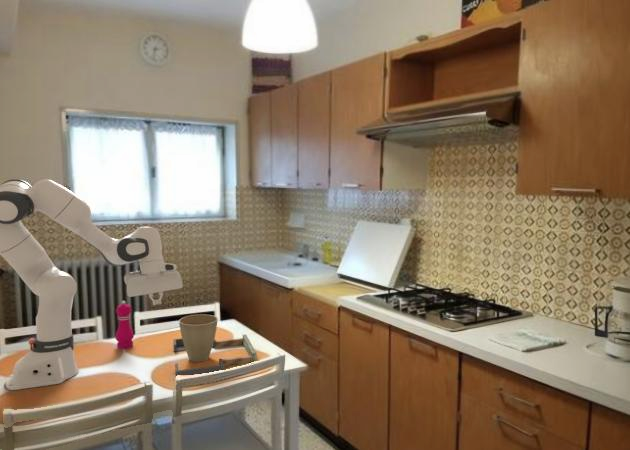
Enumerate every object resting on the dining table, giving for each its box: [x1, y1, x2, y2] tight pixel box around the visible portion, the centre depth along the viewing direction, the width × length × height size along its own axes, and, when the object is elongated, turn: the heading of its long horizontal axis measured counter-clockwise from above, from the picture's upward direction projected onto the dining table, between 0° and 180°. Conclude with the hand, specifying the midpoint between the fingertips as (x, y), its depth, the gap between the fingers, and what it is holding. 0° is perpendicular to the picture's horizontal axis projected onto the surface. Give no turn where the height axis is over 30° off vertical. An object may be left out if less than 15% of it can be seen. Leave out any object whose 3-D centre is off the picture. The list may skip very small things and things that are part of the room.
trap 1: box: [173, 337, 217, 353], centre depth 196 cm, size 17×8×3 cm, turn 108°
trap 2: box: [174, 358, 225, 377], centre depth 169 cm, size 17×8×3 cm, turn 108°
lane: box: [215, 334, 257, 368], centre depth 187 cm, size 13×24×4 cm, turn 18°
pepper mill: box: [115, 300, 135, 350], centre depth 196 cm, size 7×7×20 cm
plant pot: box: [178, 314, 219, 363], centre depth 183 cm, size 15×15×16 cm
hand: (157, 304), depth 175 cm, fingers closed
